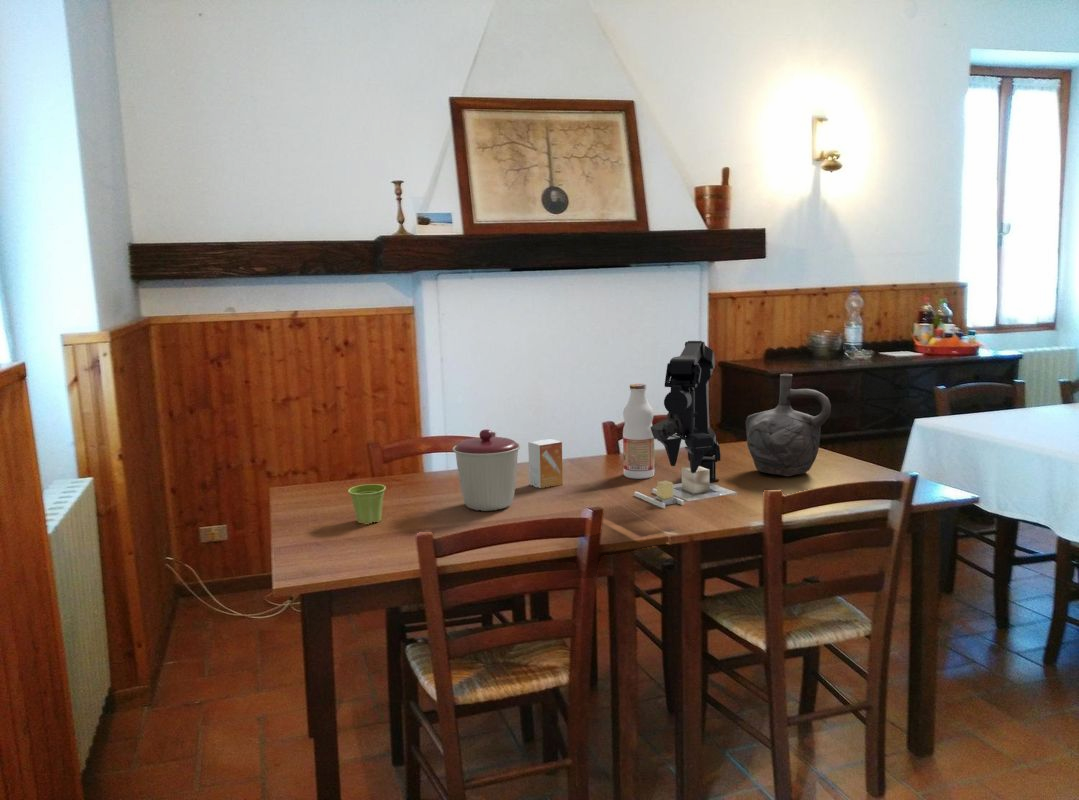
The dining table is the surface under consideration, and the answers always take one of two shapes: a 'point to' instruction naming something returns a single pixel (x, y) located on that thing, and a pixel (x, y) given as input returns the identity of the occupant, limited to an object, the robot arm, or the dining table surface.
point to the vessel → (786, 433)
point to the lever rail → (656, 500)
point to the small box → (545, 463)
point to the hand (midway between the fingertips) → (682, 469)
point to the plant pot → (367, 502)
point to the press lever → (665, 493)
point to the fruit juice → (638, 435)
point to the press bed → (690, 496)
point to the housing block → (695, 479)
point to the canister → (487, 471)
